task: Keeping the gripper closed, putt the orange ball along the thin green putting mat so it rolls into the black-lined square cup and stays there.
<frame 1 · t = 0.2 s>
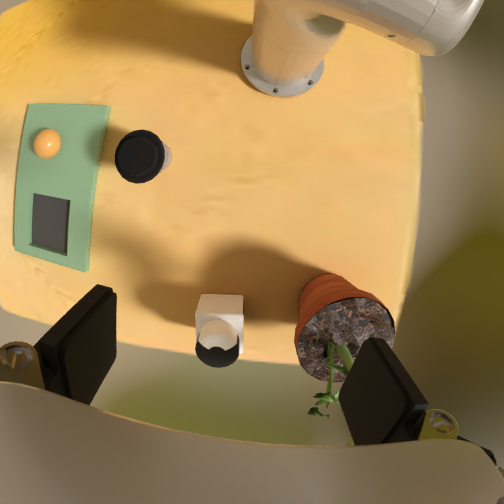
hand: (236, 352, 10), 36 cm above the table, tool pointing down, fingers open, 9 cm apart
potted plant: (325, 305, 51), on the table
orange ball: (47, 143, 37), point 4 cm above the table, touching putting mat
coffee cup: (158, 157, 43), on the table
medicine bottle: (222, 312, 51), on the table
putting mat: (54, 183, 43), on the table
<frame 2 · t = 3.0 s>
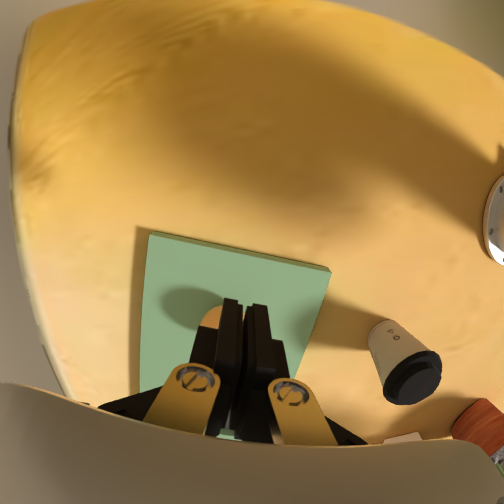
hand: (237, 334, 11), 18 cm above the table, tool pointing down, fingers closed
potted plant: (468, 419, 41), on the table
orange ball: (225, 331, 28), point 4 cm above the table, touching putting mat
coffee cup: (383, 335, 33), on the table
putting mat: (217, 362, 34), on the table
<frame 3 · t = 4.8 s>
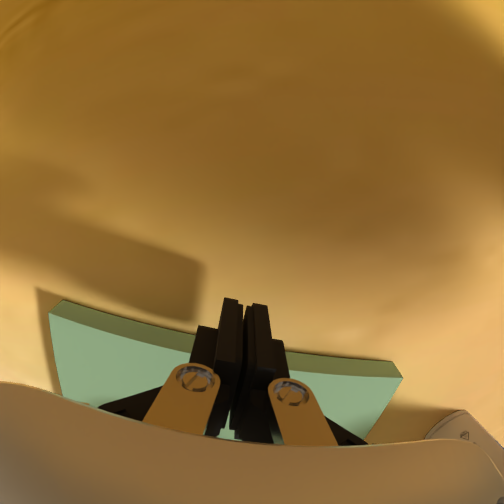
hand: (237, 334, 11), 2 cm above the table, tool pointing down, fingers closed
coffee cup: (445, 428, 18), on the table
putting mat: (199, 479, 18), on the table
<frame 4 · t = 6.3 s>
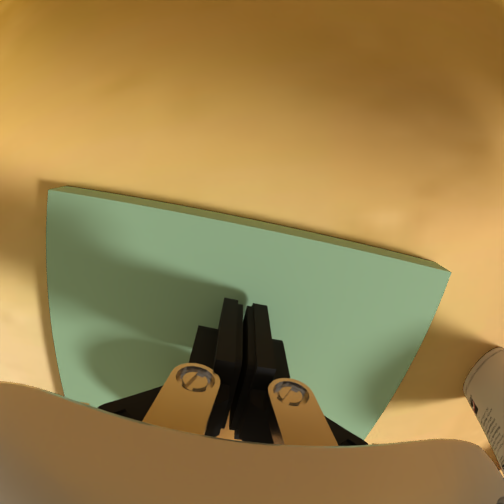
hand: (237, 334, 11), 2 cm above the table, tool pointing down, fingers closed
coffee cup: (484, 371, 16), on the table
putting mat: (210, 440, 16), on the table
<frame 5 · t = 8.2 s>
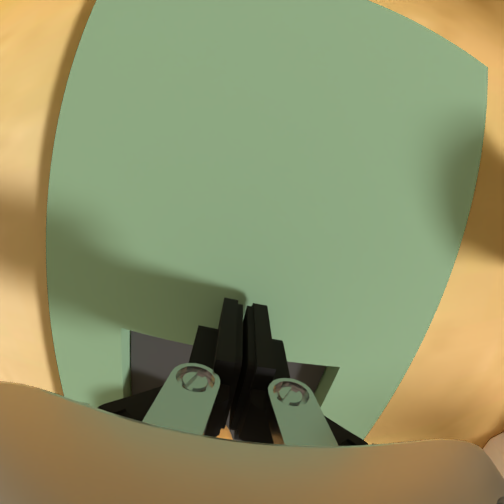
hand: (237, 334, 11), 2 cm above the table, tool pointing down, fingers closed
medicine bottle: (493, 446, 21), on the table
putting mat: (242, 297, 13), on the table
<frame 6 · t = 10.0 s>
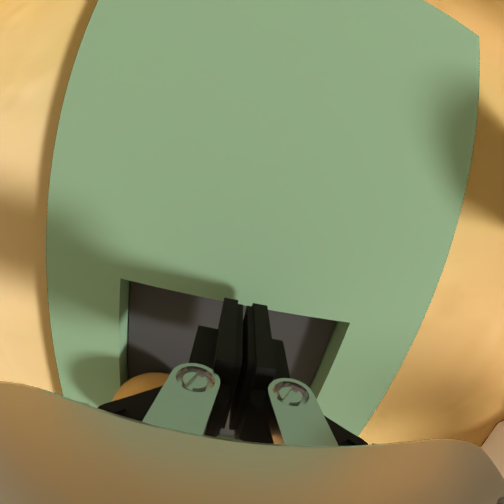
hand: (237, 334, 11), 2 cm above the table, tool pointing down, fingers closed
orange ball: (159, 420, 12), point 3 cm above the table, tilted 23°, touching putting mat
medicine bottle: (499, 433, 20), on the table
putting mat: (247, 247, 13), on the table
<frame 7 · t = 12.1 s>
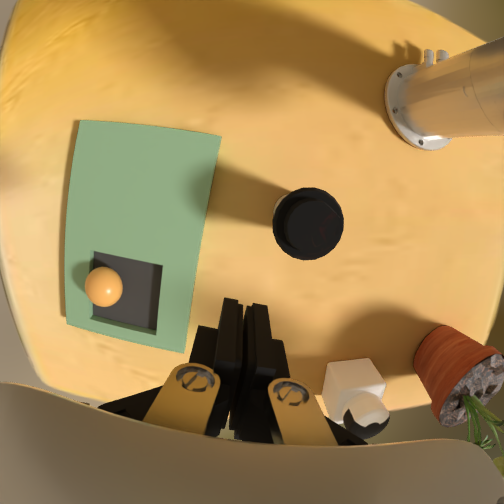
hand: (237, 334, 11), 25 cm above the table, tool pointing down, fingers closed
potted plant: (433, 353, 44), on the table
orange ball: (103, 286, 34), point 3 cm above the table, tilted 54°, touching putting mat
coffee cup: (291, 212, 36), on the table
medicine bottle: (344, 376, 43), on the table
putting mat: (130, 239, 36), on the table
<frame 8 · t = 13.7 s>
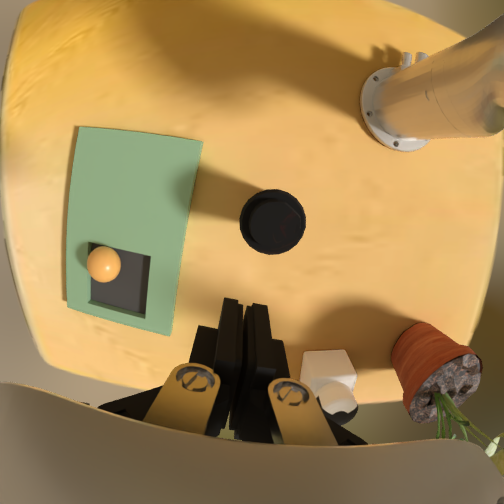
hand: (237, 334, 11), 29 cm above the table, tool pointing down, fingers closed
potted plant: (412, 349, 47), on the table
orange ball: (103, 264, 38), point 3 cm above the table, tilted 87°, touching putting mat
coffee cup: (267, 209, 39), on the table
medicine bottle: (321, 365, 47), on the table
putting mat: (123, 232, 40), on the table
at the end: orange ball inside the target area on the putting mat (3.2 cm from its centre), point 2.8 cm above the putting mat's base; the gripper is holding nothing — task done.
